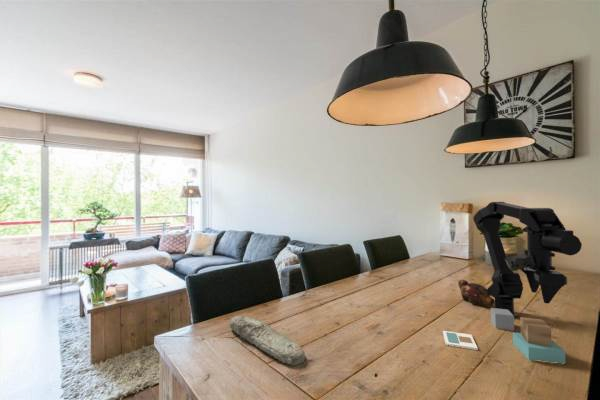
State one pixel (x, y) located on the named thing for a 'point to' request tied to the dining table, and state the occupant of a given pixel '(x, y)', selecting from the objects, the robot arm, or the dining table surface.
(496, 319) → the slate grey block
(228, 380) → the dining table surface
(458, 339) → the tile
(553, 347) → the teal base block
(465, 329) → the dining table surface
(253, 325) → the elongated rock
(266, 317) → the dining table surface
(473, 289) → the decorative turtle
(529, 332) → the walnut block
